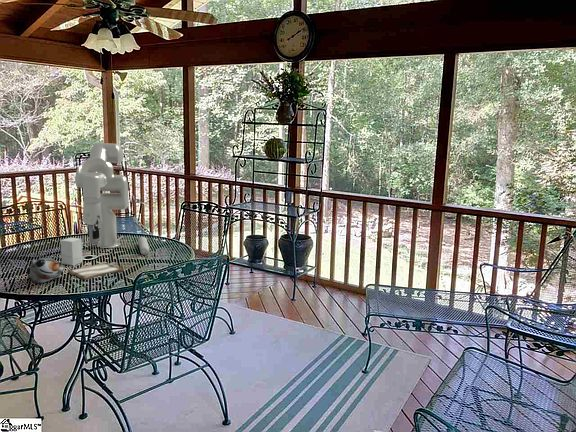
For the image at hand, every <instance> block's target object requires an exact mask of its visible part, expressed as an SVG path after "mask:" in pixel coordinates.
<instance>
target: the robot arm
mask: <svg viewBox="0 0 576 432" xmlns="http://www.w3.org/2000/svg"><path fill="white" fill-rule="evenodd" d="M124 155H125V154H124V151H123V148H122V147H121V145H119V144H117V143H115V142H114V143H113V142H112V143H107V142H104V143H103V142H99V143H95V144H93V145H92V147H91V148H90V149H89V159H87V160H85V161H84V162H82V163H81V164H79V165H78V167H77V169H76V172H75V177H74V182H75V185H76V187H77V188H80V189H82V193H83V194H82V195H83V203H82V204H83V205H82V206H83V207H82V222H83V223H84V224H85V226H86V230H87V238H89V225H93V231H92V232H93V239H98V243H97V244H96V247H97V248H98V247H100V248H99V249H104V248H109V249H115V248H119V247H120V242H118V240H117V239H118V238H117V235H118V233H117V229H118V228H117V216H116V214H115V212H113V210H127V209H128V208H129V184H128V178H127V176H125V175H122V174H114V166H113V164H115V163H116V164H117V163H118V164H119V163H122V162H123V160H124ZM112 163H113V164H112ZM101 191H102V192H103V193H101ZM96 223H97V224H96ZM96 225H97V226H96ZM95 226H96V227H95Z"/></svg>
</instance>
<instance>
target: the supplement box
mask: <svg viewBox="0 0 576 432" xmlns="http://www.w3.org/2000/svg"><path fill="white" fill-rule="evenodd" d="M60 253H61V254H60V255H61V265H67V266H76V265H79V264H81V263H83V259H84V258H83V241H82V238H76V237H68V238H64V239H61V240H60Z"/></svg>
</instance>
